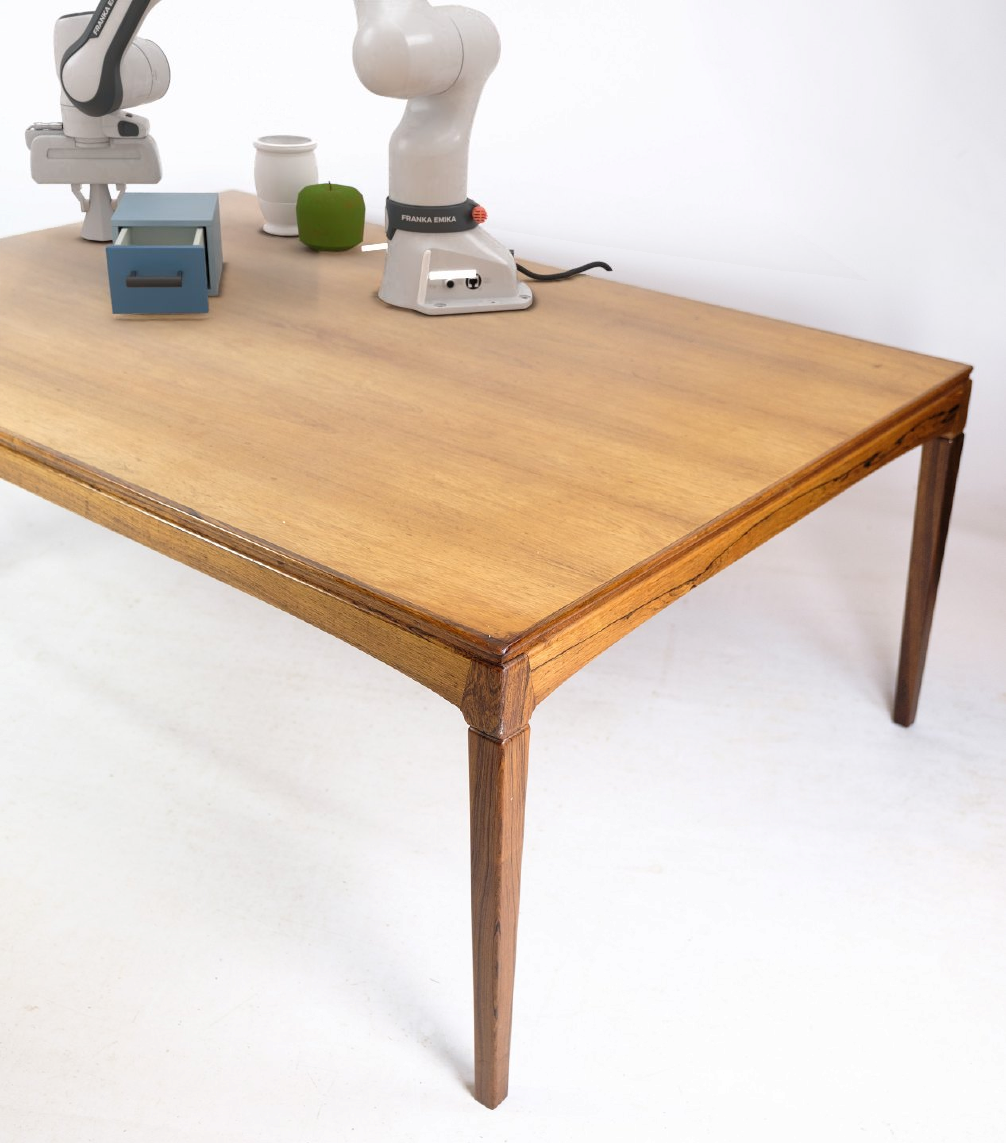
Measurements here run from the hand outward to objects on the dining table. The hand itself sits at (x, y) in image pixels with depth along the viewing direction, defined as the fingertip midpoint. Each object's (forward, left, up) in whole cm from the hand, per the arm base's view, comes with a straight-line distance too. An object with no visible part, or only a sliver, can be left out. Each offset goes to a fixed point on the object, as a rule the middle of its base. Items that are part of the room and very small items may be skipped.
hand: (102, 211), depth 210 cm
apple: (-37, +7, -5) cm, 38 cm away
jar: (-30, -5, -5) cm, 31 cm away
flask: (0, 0, -4) cm, 4 cm away
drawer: (-13, +39, -3) cm, 42 cm away
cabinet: (-13, +25, -4) cm, 28 cm away
